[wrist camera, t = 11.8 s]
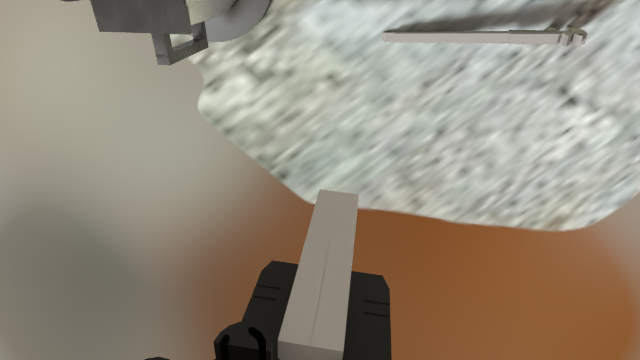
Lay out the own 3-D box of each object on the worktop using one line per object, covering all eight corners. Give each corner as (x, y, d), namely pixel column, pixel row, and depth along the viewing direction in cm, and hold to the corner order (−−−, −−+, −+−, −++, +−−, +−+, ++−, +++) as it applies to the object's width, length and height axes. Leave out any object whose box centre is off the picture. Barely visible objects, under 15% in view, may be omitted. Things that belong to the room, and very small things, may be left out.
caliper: (570, 25, 40) (599, 34, 34) (567, 35, 40) (595, 46, 35) (382, 31, 43) (382, 41, 37) (382, 41, 43) (382, 52, 38)
